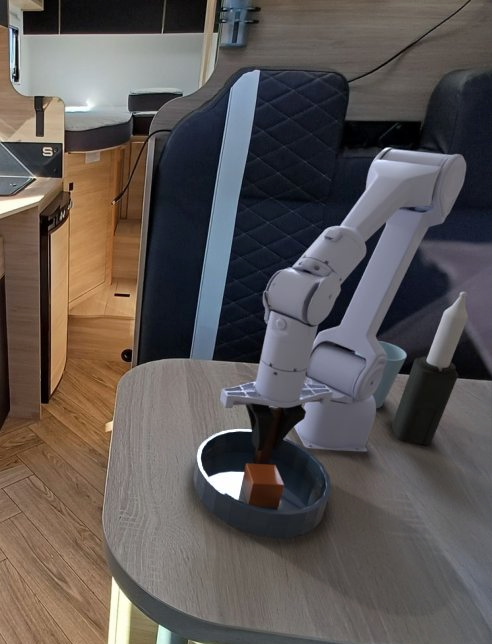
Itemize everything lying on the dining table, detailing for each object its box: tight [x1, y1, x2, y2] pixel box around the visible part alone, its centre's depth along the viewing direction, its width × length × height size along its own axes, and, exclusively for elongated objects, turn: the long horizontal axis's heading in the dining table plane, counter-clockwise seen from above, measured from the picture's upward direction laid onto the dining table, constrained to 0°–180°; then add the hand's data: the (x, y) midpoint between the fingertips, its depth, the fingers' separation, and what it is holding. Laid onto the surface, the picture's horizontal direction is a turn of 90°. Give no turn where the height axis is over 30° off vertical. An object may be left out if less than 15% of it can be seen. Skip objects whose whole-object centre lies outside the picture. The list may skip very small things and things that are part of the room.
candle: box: [391, 291, 469, 447], centre depth 79 cm, size 5×5×25 cm
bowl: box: [192, 428, 332, 539], centre depth 71 cm, size 17×17×4 cm
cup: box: [354, 340, 408, 409], centre depth 92 cm, size 8×8×10 cm
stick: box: [253, 406, 282, 465], centre depth 72 cm, size 2×2×10 cm
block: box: [241, 463, 284, 508], centre depth 70 cm, size 4×4×4 cm
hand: (264, 445), depth 73 cm, fingers closed on stick, 1 cm apart
